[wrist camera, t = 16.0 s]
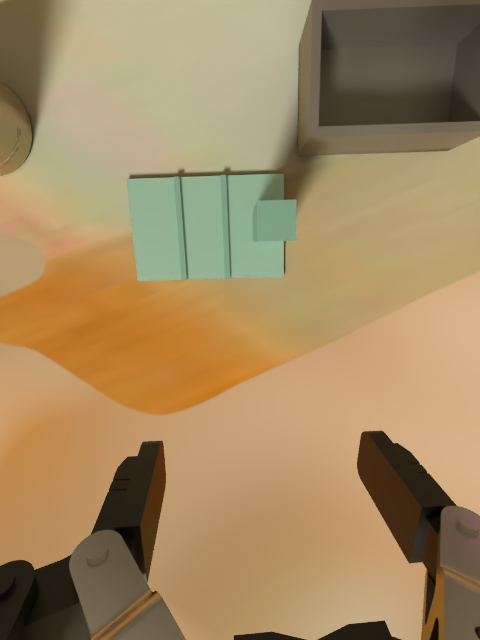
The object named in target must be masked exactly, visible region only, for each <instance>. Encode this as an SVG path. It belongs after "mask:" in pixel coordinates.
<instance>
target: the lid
mask: <svg viewBox="0 0 480 640" xmlns="http://www.w3.org/2000/svg"><path fill="white" fill-rule="evenodd" d="M126 180H127V189H128V198H129V207H130V216H131V225H132V233H133V242H134V251H135V260H136V269H137V278H138V281H151V280H187V279H217V278H225V279H230V278H250V277H284V241H292V240H296V206H297V199H294V200H284V174H256V175H227V176H226V175H221V176H198V177H179V176H175V177H169V178H140V179H126Z"/></svg>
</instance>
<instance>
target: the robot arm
mask: <svg viewBox="0 0 480 640" xmlns="http://www.w3.org/2000/svg"><path fill="white" fill-rule="evenodd" d="M31 142H32V129H31V124H30V120H29V116H28V114H27V112H26V110H25V108H24V106H23V104H22V103H21V101H20V100H19V99H18V97H17V96H16V95H15V94H14V93H13V92H12V91H11V90H10V89H9V88H7V87H6V86H4V85H3V84H1V83H0V175H4V174H8V173H11V172H12V171H14V170H16V169H18V168H19V167H20V166H21V165H22V164H23V163H24V161H25V159H26V158H27V156H28V154H29V151H30V148H31ZM357 468H358V473H359V476H360V479H361V481H362V482H363V484H364V486H365V487H366V489H367V491H368V492H369V494H370V496H371V498H372V500H373V501H374V503H375V505H376V507H377V508H378V510H379V512H380V514H381V515H382V517H383V518H384V520H385V522H386V524H387V526H388V527H389V529H390V531H391V533H392V534H393V536H394V538H395V539H396V541H397V543H398V544H399V547H400V548H401V550H402V552H403V553H404V555H405V557H406V559H407V560H408V562H409V563H417V562H423V564H424V565H425V567H426V568H427V571H426V575H425V587H424V604H423V620H422V634H421V640H480V516H479V515H478V514H476V513H474V512H473V511H471V510H468V509H466V508H463V507H459V506H457V505H456V504H455V503H454V502H453V501H452V500H451V499H450V497H449V496H448V495H447V494H446V493H445V492H444V491H443V490H442V488H441V487H440V486H439V485H438V483H437V482H436V481H435V480H434V479H433V478H432V477H431V475H430V474H428V473H427V471H426V470H425V468H424V467H423V466H422V465H420V464H419V461H418V460H417V459H416V458H415V457H414V456H413V455H412V453H411V452H410V451H408V450H407V449H405V448H404V447H402V446H401V445H399V444H398V443H395V444H394V443H393V442H392V441H391V440H390V439H389V437H388V436H387V435H386V434H385V433H384V432H383V431H365V432H363V433H362V434H361V440H360V446H359V453H358V461H357ZM165 483H166V471H165V458H164V446H163V441H148V442H143V443H142V445H141V447H140V451H139V454H138V456H133V457H127V458H126V459H125V460H124V461H123V462H122V464H121V465H120V466H119V467H118V468H117V471H116V473H115V476H114V478H113V482H112V483H111V486H110V488H109V492H108V493H107V496H106V498H105V501H104V503H103V506H102V508H101V511H100V513H99V516H98V519H97V521H96V524H95V526H94V528H93V531H92V533H91V535H90V536H88V537H87V538H85V539H84V540H83V541H82V542H81V543H80V544H79V545H78V546H77V547H76V548H75V550H74V552H73V553H72V554H71V555H70V556H68V557H66V558H64V559H62V560H60V561H57V562H55V563H52V564H49V565H47V566H44V567H41V568H39V569H36V570H34V568H33V566H32V564H31V563H29V562H27V561H24V560H16V561H11V562H8V563H6V564H4V565H1V566H0V640H186V639H185V637H184V635H183V634H182V632H181V630H180V628H179V626H178V625H177V623H176V621H175V619H174V618H173V616H172V614H171V612H170V610H169V609H168V607H167V606H166V604H165V602H164V600H163V598H162V597H161V595H160V594H159V593H158V592H157V591H155V592H152V591H151V589H150V588H149V586H148V584H147V582H148V577H149V571H150V566H151V561H152V555H153V550H154V545H155V539H156V534H157V528H158V523H159V518H160V513H161V507H162V502H163V497H164V492H165ZM234 640H305V639H301V638H297V637H292V636H288V635H283V634H279V633H275V632H265V633H255V634H245V635H235V636H234ZM318 640H401V639H398V638H395V637H392V636H391V634H390V632H389V630H388V627H387V625H386V623H385V621H377V622H367V623H356V624H348V625H346V626H344V627H342V628H341V629H338V630H336V631H334V632H332V633H330V634H328V635H326V636H324V637H322V638H320V639H318Z"/></svg>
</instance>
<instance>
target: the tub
mask: <svg viewBox="0 0 480 640" xmlns="http://www.w3.org/2000/svg"><path fill="white" fill-rule="evenodd" d="M479 136H480V0H312V2H311V5H310V9H309V12H308V16H307V19H306V23H305V26H304V29H303V33H302V36H301V40H300V43H299V74H298V141H297V156H307V155H337V154H367V153H397V152H428V151H448V150H450V149H453V148H455V147H457V146H459V145H462V144H464V143H466V142H468V141H471V140H473V139H475V138H477V137H479Z"/></svg>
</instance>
